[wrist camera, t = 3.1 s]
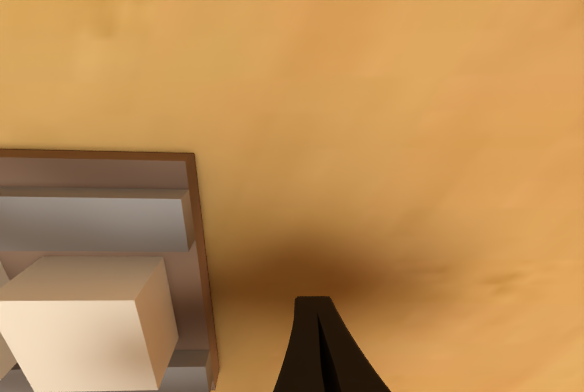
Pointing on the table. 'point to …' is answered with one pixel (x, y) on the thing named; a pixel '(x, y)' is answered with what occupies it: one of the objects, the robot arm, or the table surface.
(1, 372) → the chip
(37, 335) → the chip
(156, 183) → the slot board
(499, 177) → the table surface
